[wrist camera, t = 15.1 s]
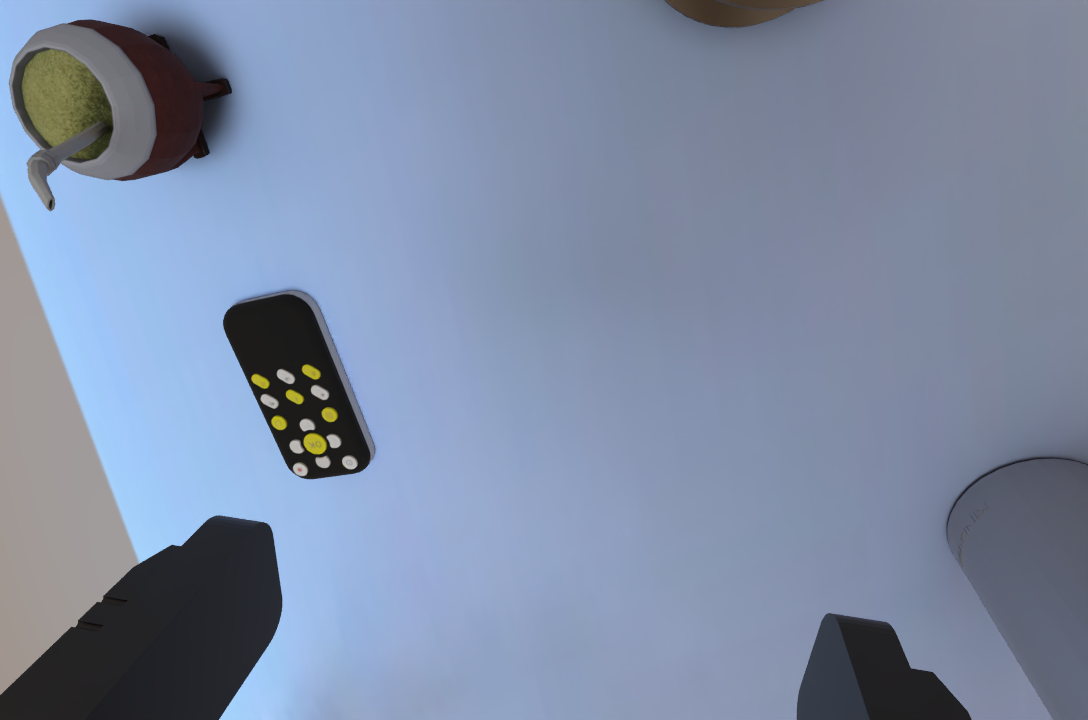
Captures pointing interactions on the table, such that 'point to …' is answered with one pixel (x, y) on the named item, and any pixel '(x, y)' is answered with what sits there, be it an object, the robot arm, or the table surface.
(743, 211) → the table surface
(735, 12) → the bobbin
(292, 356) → the remote control
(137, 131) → the mate gourd
